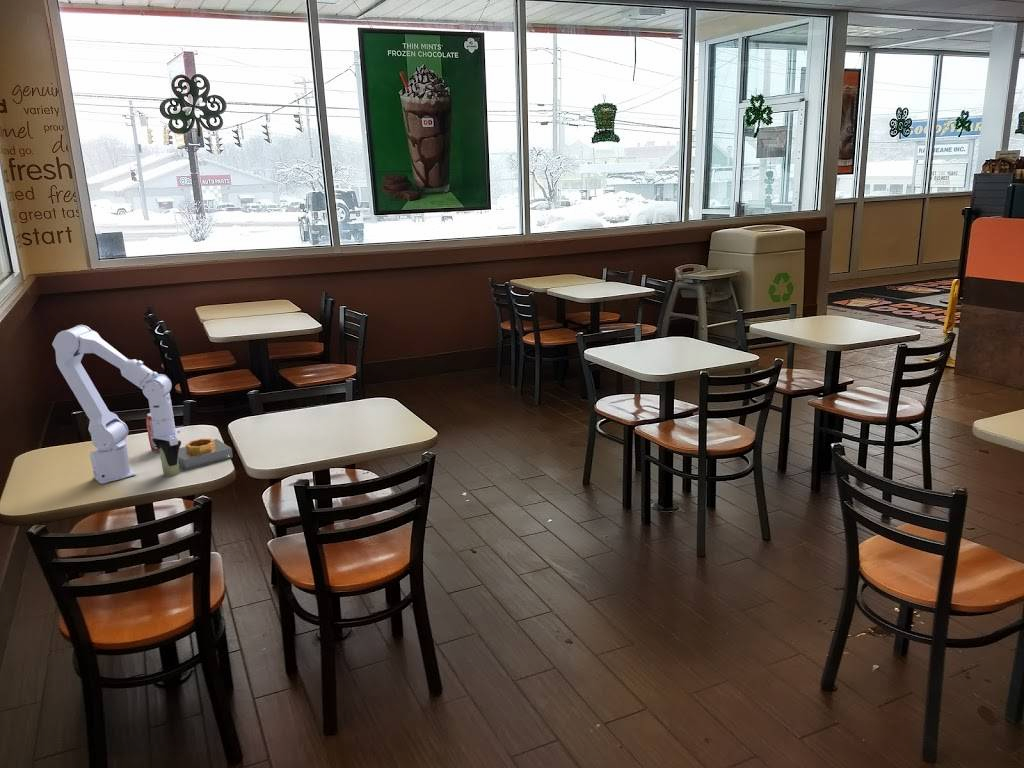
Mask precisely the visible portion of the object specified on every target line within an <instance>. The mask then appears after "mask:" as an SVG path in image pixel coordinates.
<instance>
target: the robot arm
mask: <svg viewBox="0 0 1024 768" xmlns="http://www.w3.org/2000/svg"><path fill="white" fill-rule="evenodd" d="M51 345H52V347H53V349H54V351H55V361H56V365H57V368H58V369H59V371H60V373H61V374H62V376H63V378H64V379H65V381H66V383H67V385H68V386H69V388H70V389H71V391H72V392H73V395H74V396H75V398H76V399H77V402H78V403H79V405H80V406H81V408H82V410H83V412H84V413H85V415H86V417H87V418H88V419H89V424H88V432H89V435H90V437H91V443H92V446H94V447H95V450H93V451H90V452H89V455H90V462H91V466H92V472H93V478H94V479H95V480H96V481H97V482H98V483H99V484H101V485H102V484H106V483H110V482H114V481H117V480H122V479H126V478H130V477H133V476H134V477H135V476H136V475H137V473H136V472H135V471H134V470H133V469H131V463H130V457H129V453H128V452H129V451H128V448H127V447H128V445H127V440H126V438H127V437H128V435H129V427H128V425H127V424H126V423H125V421H122V420H121V419H120V418H119V416H118V415H117V414H116V413H114V412H112V411H110V410H109V409H108V406H107V405H106V403H105V402H104V400H103V398H102V397H101V394H100V393H99V391H98V390H97V388H96V386H95V384H94V383H93V381H92V379H91V378H90V375H89V374H88V373H87V371H86V369H85V368H84V366H83V365H82V363H81V362H82V359H83V357H84V355H85V354H94V355H97V356H98V357H100V358H101V359H103V360H104V361H106V362H108V363H109V364H111V365H113V366H114V367H115V368H118V369H119V370H120V374H121V377H124V378H125V379H126V380H128V381H129V382H130V383H132V384H133V385H135V386H136V387H138V388H139V389H141V390H142V394H143V395H144V397H145V398H146V399H147V400H148V405H149V406H148V407H149V411H150V412H151V418H152V424H153V430H154V439H152V441H153V442H154V444H155V445H156V447H157V448H158V450H159V448H160V447H161V449H162V450H163V452H164V454H165V457H166V460H167V463H168V465H169V466H174V465H177V460H178V451H179V448H181V445H182V441H181V440H178V434H180V433H181V429H179V428H176V425H175V419H174V417H175V416H174V411H173V405H172V399H171V394H170V392H171V390H172V388H173V387H172V386H173V384H172V381H171V379H170V378H169V377H168V375H166V374H162V373H158V372H157V371H153V370H152V369H150V368H149V367H148V366H146V365H145V364H144V361H142V360H140V359H139V360H138V359H136V358H135V359H134V358H133V359H130V358H128V357H126V356H125V355H123V354H122V353H121V352H119V351H118V350H117V349H116V348H114V347H113V345H111V344H110V343H108V341H105V340H104V339H103V338H102V337H101V336H100V334H99V333H98V332H97V331H96V330H93V329H91V328H90V327H89V326H87V325H84V324H78V325H75V326H74V327H71V328H69V329H66V330H61V331H59V332H58V333H57V334H56V335H55V337H54V339H53V341H52V344H51ZM150 412H149V413H150ZM158 453H159V454H160V451H159V452H158Z"/></svg>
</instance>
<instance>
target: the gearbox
mask: <svg viewBox="0 0 1024 768" xmlns="http://www.w3.org/2000/svg"><path fill="white" fill-rule="evenodd" d="M228 455H229V456H230V458H229V457H228ZM233 456H234V455H233V449H232V447H230V445H227V444H226V443H224V442H222V441H221V440H219V438H218V439H217V438H215V439H212V438H198V439H193V440H190V441H189V442H188V443H186V444H185V446H183V447H180V448H179V451H178V463H179V467H181V468H182V469H184V470H191V469H194V468H197V467H198V468H199V467H201V466H205V465H209V464H213V463H217V462H220V461H225V460H228V459H232V458H233Z"/></svg>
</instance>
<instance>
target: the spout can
mask: <svg viewBox="0 0 1024 768" xmlns="http://www.w3.org/2000/svg"><path fill="white" fill-rule="evenodd" d="M159 451H160V453H159V455H160V461H161V467H162V473H163V476H164V477H175V476H177V475H180V473H181V470H180V465H179V463H178V460H177V465H174V466H169V465H168V463H167V460H166V457H165V454H164V452H163V450H162V449H161V447H160V448H159Z"/></svg>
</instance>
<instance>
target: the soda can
mask: <svg viewBox="0 0 1024 768" xmlns="http://www.w3.org/2000/svg"><path fill="white" fill-rule="evenodd" d="M145 425H146V431H147V436H148V442H149V445H150V450H151V451H153V452H155V453H159V450H158V448H157V447H156V445H155V444H154V442H153V441H152V439H154V430H153V424H152V418H151V412H149V413H147V414H146V419H145Z"/></svg>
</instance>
